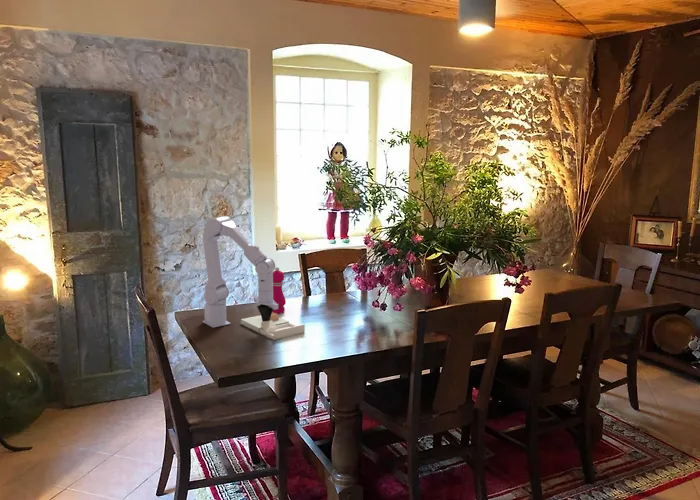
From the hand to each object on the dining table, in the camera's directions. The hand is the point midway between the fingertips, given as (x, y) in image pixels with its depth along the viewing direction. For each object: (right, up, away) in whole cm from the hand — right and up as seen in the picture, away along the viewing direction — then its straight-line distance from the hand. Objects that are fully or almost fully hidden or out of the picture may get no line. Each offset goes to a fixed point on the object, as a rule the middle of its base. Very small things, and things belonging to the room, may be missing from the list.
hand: (266, 323), depth 222 cm
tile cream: (+1, -2, -2) cm, 3 cm away
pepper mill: (+1, +2, +26) cm, 26 cm away
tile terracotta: (+1, +1, +8) cm, 8 cm away
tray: (+7, -4, -3) cm, 8 cm away
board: (-1, -2, +7) cm, 7 cm away
